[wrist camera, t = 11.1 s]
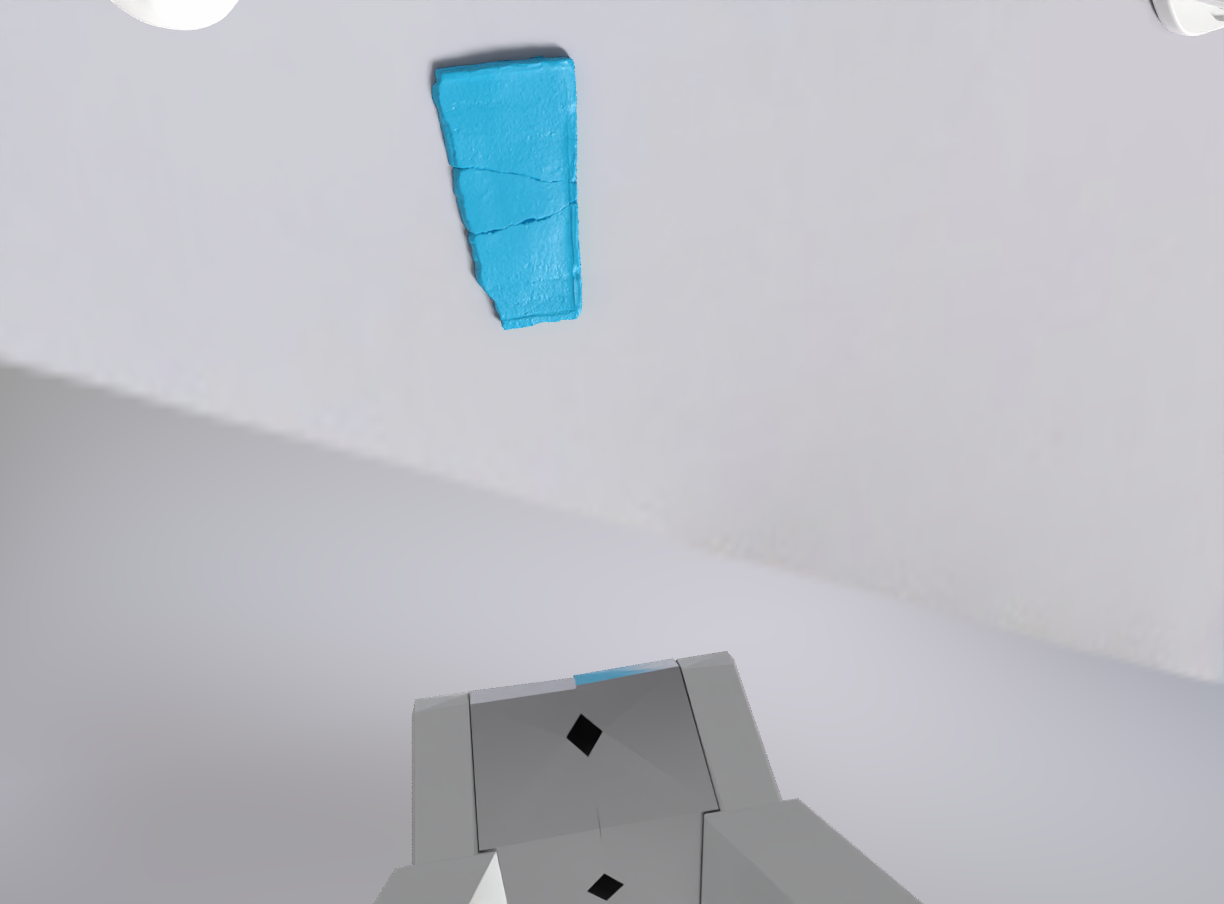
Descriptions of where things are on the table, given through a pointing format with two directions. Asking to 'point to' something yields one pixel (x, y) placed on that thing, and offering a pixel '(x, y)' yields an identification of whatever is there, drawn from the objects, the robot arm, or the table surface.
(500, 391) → the table surface
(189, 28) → the milkshake
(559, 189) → the sponge
